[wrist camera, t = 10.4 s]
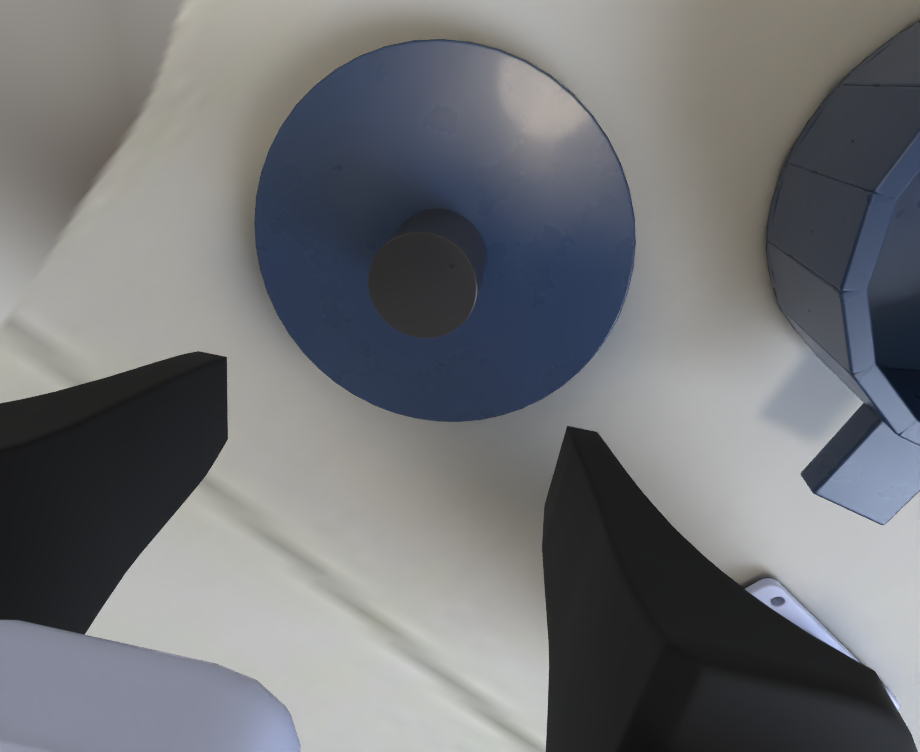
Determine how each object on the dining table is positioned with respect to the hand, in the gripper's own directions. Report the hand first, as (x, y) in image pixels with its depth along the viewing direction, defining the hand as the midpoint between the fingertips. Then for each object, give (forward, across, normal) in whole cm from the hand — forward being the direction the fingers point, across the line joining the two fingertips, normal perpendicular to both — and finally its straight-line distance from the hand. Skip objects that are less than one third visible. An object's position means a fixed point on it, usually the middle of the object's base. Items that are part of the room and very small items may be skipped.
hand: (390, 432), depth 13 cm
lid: (+8, 0, -2) cm, 9 cm away
